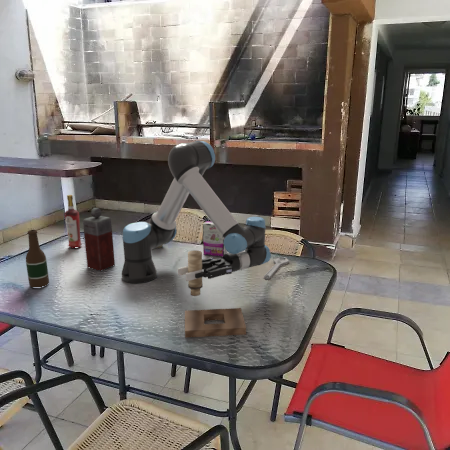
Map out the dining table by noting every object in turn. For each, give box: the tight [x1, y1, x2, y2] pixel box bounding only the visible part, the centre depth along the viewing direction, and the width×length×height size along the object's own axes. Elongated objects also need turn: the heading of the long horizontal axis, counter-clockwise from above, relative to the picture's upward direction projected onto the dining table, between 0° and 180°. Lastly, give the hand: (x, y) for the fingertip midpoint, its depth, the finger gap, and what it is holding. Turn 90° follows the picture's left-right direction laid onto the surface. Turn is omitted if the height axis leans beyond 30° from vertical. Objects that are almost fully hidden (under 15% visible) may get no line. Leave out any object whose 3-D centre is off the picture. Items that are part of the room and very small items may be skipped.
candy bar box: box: [202, 221, 228, 258], centre depth 214 cm, size 11×5×16 cm, turn 69°
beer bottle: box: [25, 229, 50, 288], centre depth 178 cm, size 8×8×24 cm
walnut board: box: [184, 307, 247, 338], centre depth 148 cm, size 20×14×2 cm
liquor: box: [63, 194, 83, 249], centre depth 225 cm, size 7×7×28 cm
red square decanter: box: [82, 207, 116, 272], centre depth 198 cm, size 9×11×28 cm
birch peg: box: [187, 249, 203, 297], centre depth 156 cm, size 5×5×16 cm
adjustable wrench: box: [263, 257, 289, 280], centre depth 197 cm, size 25×6×2 cm, turn 151°
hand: (182, 274), depth 153 cm, fingers closed on birch peg, 5 cm apart
